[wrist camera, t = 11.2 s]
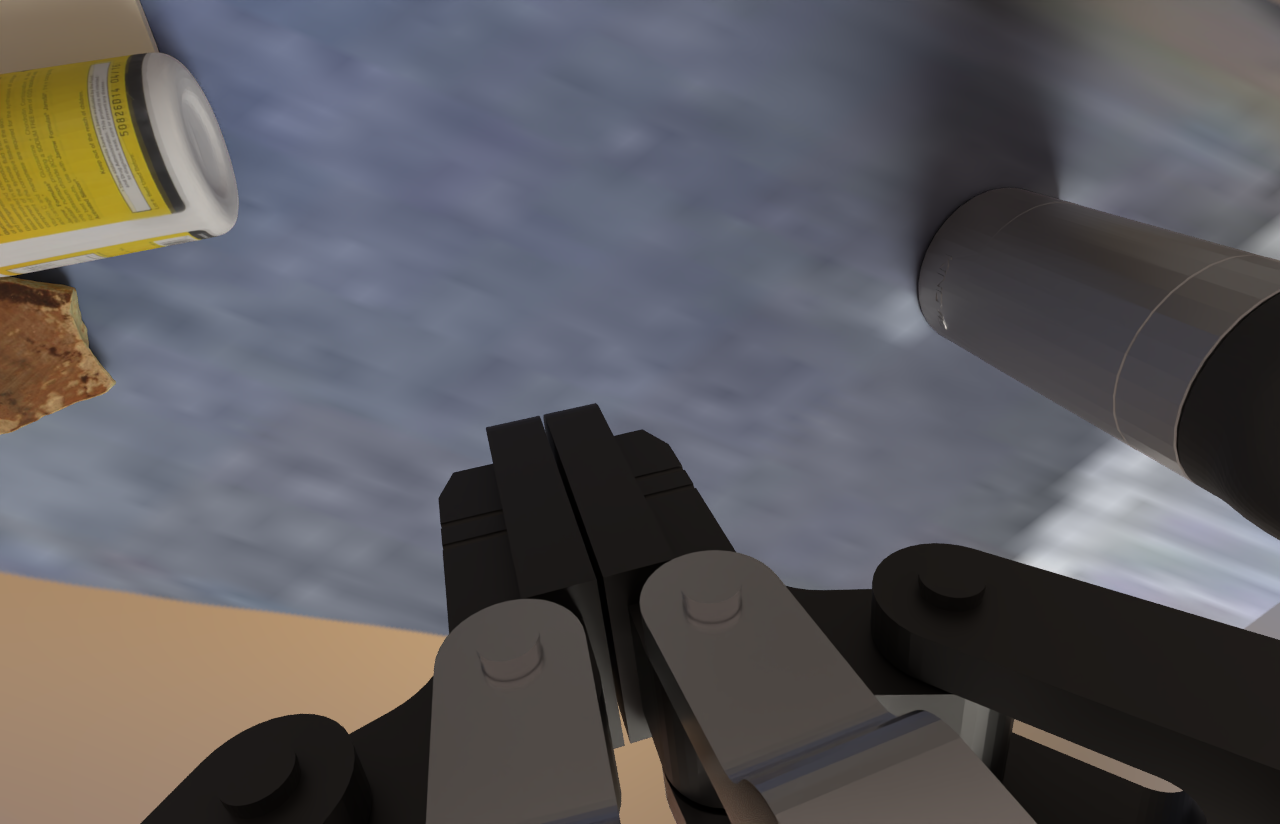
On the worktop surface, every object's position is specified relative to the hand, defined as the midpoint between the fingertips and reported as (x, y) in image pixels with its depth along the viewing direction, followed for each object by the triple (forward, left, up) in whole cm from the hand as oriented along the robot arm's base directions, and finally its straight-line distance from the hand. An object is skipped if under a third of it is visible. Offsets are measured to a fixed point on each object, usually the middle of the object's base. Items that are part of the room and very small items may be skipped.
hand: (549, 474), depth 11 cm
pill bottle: (+8, -2, -24) cm, 26 cm away
